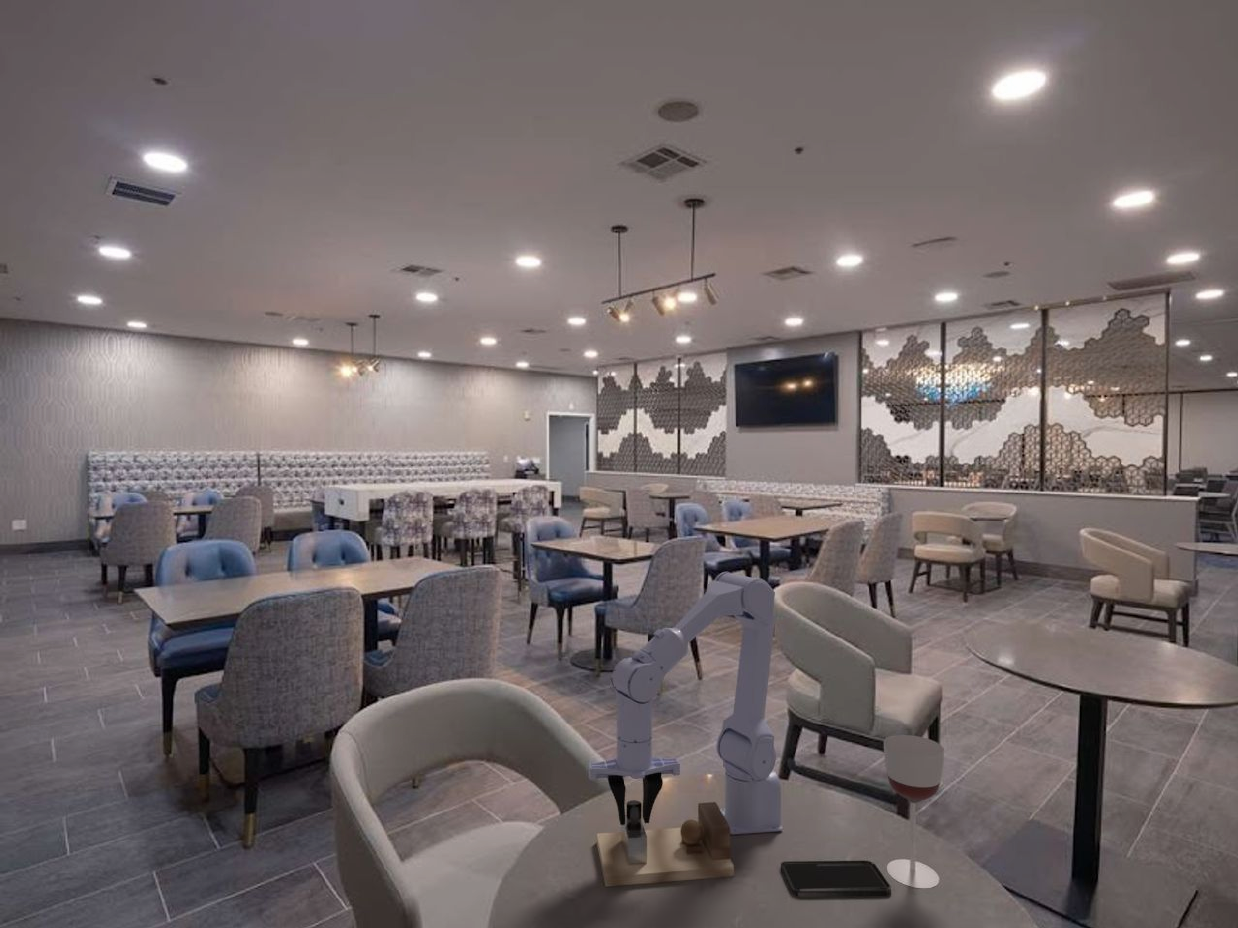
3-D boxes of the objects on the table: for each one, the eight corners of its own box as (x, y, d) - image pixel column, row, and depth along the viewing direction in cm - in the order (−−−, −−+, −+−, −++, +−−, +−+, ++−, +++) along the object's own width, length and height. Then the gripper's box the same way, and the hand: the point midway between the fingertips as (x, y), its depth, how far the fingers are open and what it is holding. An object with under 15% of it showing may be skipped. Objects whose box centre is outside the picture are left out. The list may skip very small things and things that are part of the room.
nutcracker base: (711, 833, 115) (712, 796, 115) (733, 875, 104) (734, 833, 104) (596, 842, 113) (596, 803, 113) (605, 886, 101) (605, 843, 101)
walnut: (699, 836, 111) (699, 814, 111) (705, 848, 107) (705, 825, 107) (678, 837, 110) (678, 815, 110) (683, 850, 107) (683, 827, 107)
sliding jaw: (639, 838, 111) (639, 792, 111) (647, 862, 104) (647, 814, 104) (621, 839, 111) (621, 793, 111) (627, 864, 104) (628, 815, 104)
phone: (893, 890, 99) (793, 891, 99) (893, 898, 99) (793, 899, 99) (872, 859, 107) (778, 860, 106) (872, 866, 107) (778, 867, 106)
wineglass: (953, 889, 101) (953, 756, 101) (894, 888, 101) (895, 755, 101) (929, 858, 108) (930, 735, 109) (875, 857, 109) (876, 734, 109)
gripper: (592, 748, 102) (591, 837, 102) (684, 743, 105) (684, 830, 104) (587, 730, 109) (587, 813, 109) (674, 726, 112) (673, 808, 111)
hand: (633, 820), depth 107 cm, fingers open, 3 cm apart
